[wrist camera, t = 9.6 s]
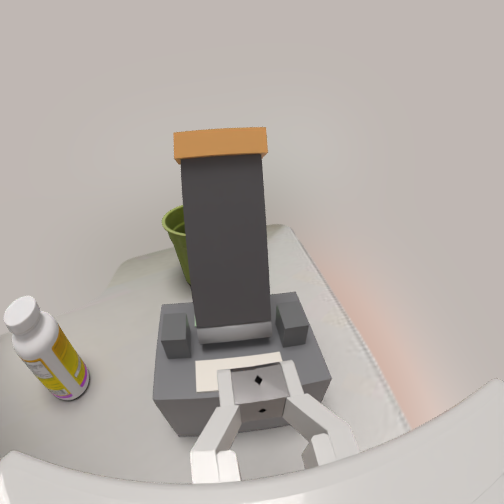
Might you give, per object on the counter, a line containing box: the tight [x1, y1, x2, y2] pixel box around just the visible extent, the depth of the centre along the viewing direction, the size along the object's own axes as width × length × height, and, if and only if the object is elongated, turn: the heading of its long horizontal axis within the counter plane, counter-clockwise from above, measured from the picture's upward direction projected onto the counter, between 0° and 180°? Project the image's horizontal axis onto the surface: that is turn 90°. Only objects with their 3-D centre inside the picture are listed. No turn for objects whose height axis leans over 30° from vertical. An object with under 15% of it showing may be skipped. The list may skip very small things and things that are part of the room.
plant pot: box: [162, 205, 191, 284], centre depth 42 cm, size 12×12×11 cm
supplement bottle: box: [4, 296, 89, 400], centre depth 22 cm, size 7×7×13 cm
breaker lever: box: [174, 127, 272, 344], centre depth 21 cm, size 3×7×17 cm, turn 99°
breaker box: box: [153, 292, 332, 436], centre depth 25 cm, size 11×14×12 cm
